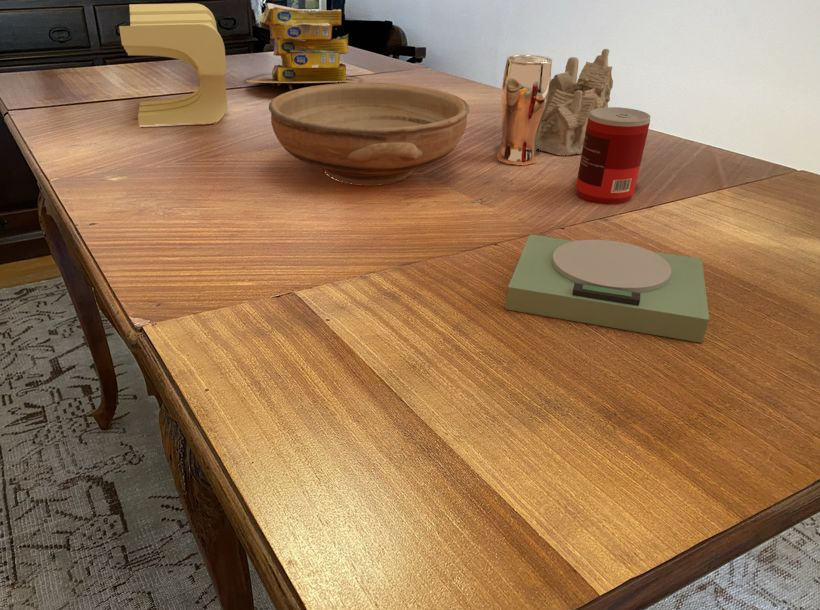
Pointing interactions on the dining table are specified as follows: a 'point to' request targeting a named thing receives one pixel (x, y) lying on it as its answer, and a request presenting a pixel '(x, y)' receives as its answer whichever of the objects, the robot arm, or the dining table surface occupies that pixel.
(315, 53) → the stacked yellow boxes
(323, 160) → the ceramic bowl
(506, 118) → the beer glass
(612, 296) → the kitchen scale
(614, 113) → the canned food
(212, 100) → the yellow c-shaped bracket
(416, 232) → the dining table surface
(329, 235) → the dining table surface
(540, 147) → the ceramic cottage
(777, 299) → the dining table surface
